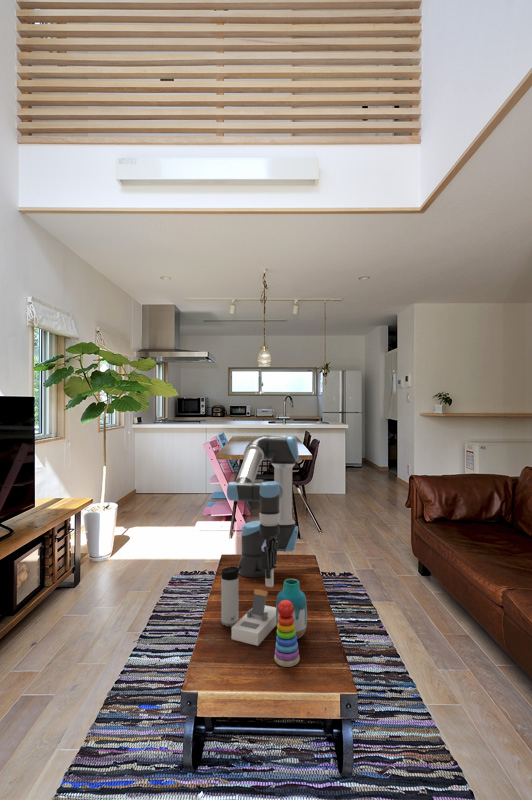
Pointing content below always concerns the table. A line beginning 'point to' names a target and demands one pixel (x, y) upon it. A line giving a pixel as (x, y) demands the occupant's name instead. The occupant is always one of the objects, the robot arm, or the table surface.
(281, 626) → the stacking toy
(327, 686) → the table surface
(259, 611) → the lever
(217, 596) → the table surface
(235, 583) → the travel mug
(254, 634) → the switch box
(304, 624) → the vase
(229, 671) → the table surface
